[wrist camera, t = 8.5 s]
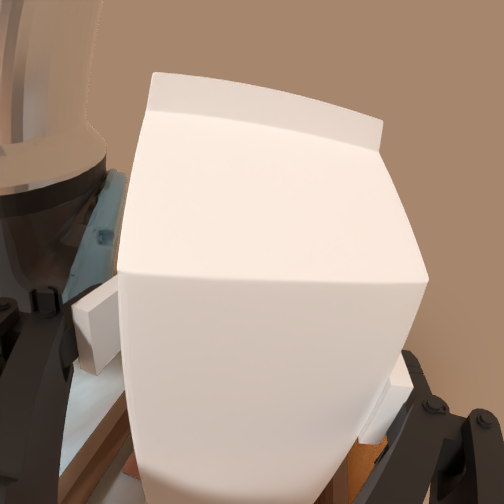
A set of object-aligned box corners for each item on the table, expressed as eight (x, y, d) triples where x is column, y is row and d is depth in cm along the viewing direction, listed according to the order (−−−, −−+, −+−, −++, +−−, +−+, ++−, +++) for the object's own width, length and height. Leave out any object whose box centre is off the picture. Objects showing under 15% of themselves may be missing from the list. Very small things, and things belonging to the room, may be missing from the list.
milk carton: (293, 530, 12) (465, 125, 6) (158, 546, 10) (144, 29, 4) (258, 441, 18) (331, 122, 12) (148, 446, 16) (157, 92, 10)
